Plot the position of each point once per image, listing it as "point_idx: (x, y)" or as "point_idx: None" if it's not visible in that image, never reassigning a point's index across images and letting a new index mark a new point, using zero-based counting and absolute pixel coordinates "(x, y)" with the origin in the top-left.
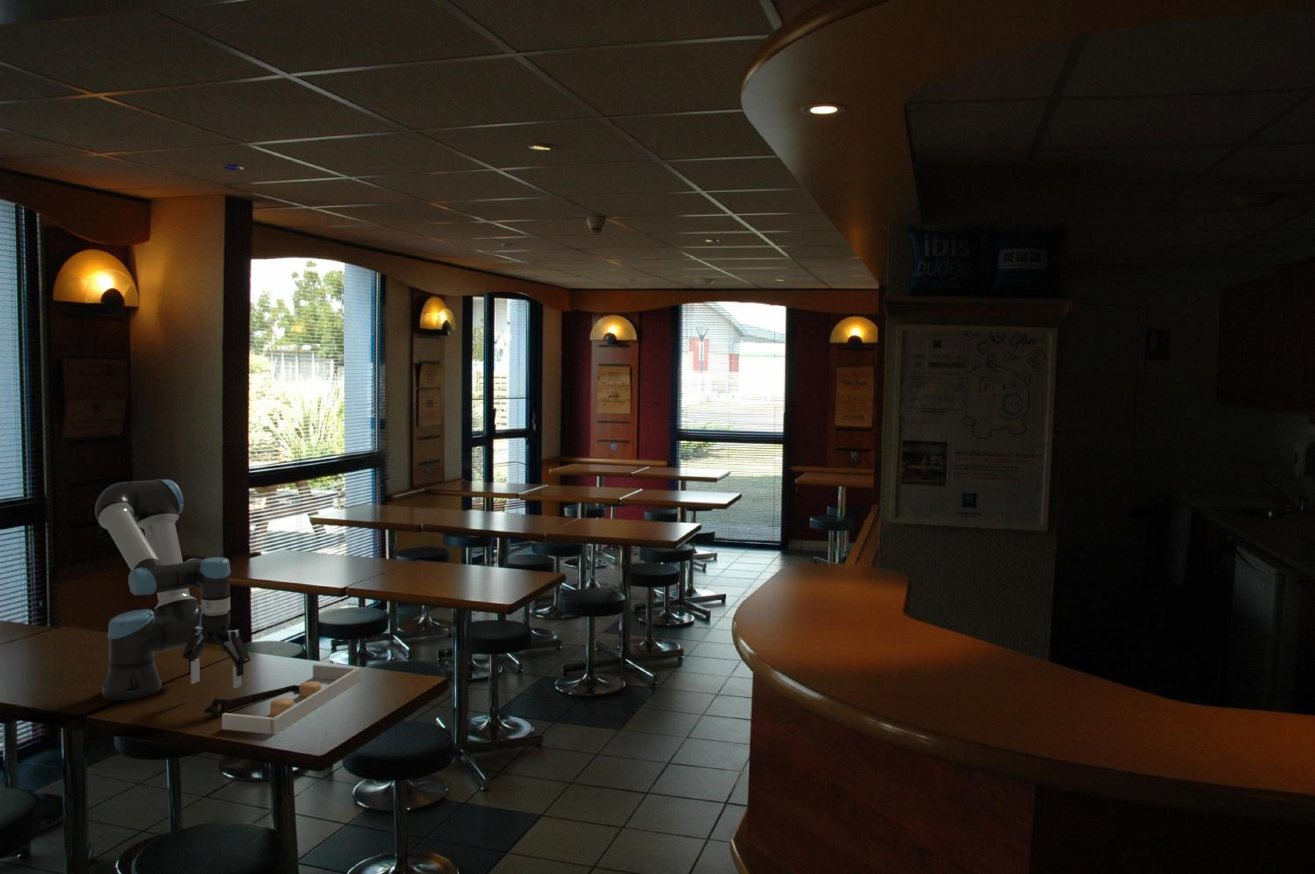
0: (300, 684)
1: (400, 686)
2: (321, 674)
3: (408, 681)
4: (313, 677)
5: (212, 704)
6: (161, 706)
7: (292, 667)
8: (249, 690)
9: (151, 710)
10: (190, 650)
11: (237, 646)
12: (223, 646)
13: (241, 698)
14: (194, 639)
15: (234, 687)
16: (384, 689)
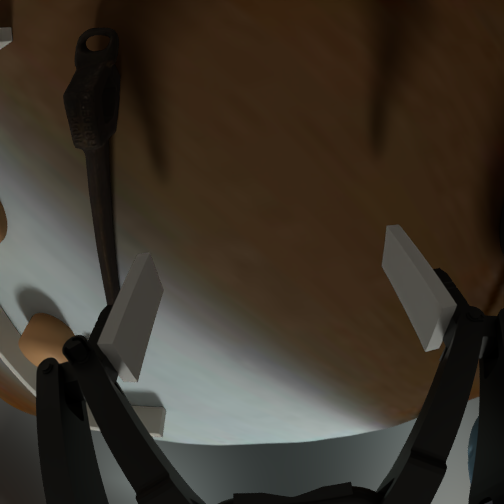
0: (59, 355)
1: (9, 385)
2: (141, 414)
3: (23, 401)
4: (161, 407)
5: (92, 71)
6: (431, 102)
7: (262, 427)
8: (235, 325)
9: (435, 56)
10: (494, 369)
11: (45, 467)
12: (156, 483)
13: (92, 215)
14: (500, 459)
15: (141, 254)
16: (8, 375)
